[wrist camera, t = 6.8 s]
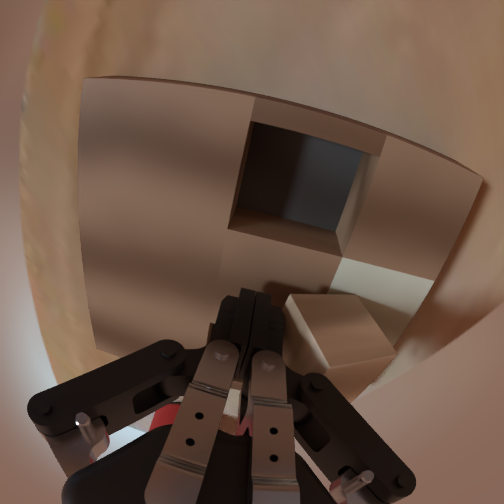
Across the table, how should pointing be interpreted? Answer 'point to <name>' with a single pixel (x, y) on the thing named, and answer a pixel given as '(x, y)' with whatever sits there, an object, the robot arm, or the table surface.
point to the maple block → (334, 341)
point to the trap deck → (250, 209)
